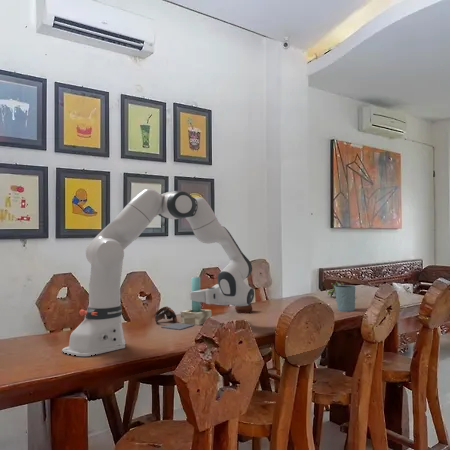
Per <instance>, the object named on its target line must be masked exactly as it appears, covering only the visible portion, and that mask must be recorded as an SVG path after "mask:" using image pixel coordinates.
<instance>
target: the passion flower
mask: <svg viewBox="0 0 450 450" xmlns="http://www.w3.org/2000/svg"><path fill="white" fill-rule="evenodd" d="M338 285H346V284H345V283H344V282H338V281H335V283H331V286H332V289H329V288H326V289H325V292H326V293H327V295H328V296H329V295H330V297H333V296H334V297H335V298H336V292H335V286H338ZM327 291H328V292H327ZM332 295H333V296H332ZM334 297H333V298H334Z"/></svg>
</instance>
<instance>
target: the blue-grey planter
mask: <svg viewBox="0 0 450 450" xmlns="http://www.w3.org/2000/svg"><path fill="white" fill-rule="evenodd" d="M335 293H336V296H335V301H336V308H337V309H338V310H337V311H339V310H340V312H354V311H356V285H352V284H349V285H348V284H345V285H338V286H335Z"/></svg>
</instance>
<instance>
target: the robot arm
mask: <svg viewBox="0 0 450 450" xmlns="http://www.w3.org/2000/svg"><path fill="white" fill-rule="evenodd" d="M157 216H159V217H161V218H164V219H168V220H169V219H170V220H178V219H186V221H187V222H188V223H189V226H190V229H191V230H192V232H193V235H194V237H195V238H196V239H197V240H198V241H199V242H200V243H203V244H214V243H217V244H219V245H220V246H221V248H222V249H223V251H224V252H225V254H226V255H227V256H228V258H229V262H228V264H227V265H226V266H225V267H223V269H222V270H221V271H220V272H219V273H218V274H217V279H216V280H217V283H216V284H214V285H213V286H211V287H209V288H204V289H200V290H197V291H192V290H190V292H189V299H190V301H191V302H192V301H197V302H201V303H205V304H206V305H219V306H228V305H230V306H232V307H235V306H248V305H249V304H250V303H251V304H252V303H253V301H254V298H255V290H254V288H253V287H251V286H249V285H248V284H247V283H246V282H245V280H246V279H247V278H248V277H249V276H250V275H251V274H252V272H253V266H252V263H251V261H250V259H249V258H248V257H247V256H246V255H245V254H244V253H243V252H242V250H241V248H240V247H239V245H238V243H237V242H236V240H235V239H234V237H233V235H232V233H230V231H229V230H228V229H227V228H226V227H225V226H222V224H221V223H220V222H219V219H218V218H217V215H216V214H215V212H214V211H213V209H212V207H211V206H210V204H209V203H208V201H207V200H206V199H205V198H203V197H200V196H196V197H194V196H192V194H190V193H188V192H186V191H184V190H171V191H170V190H169V191H167V192H163V193H159V192H158V191H156V190H155V189H152V188H145V189H143V190H141V191H140V192H138V193H137V195H135V196H134V197H133V198H132V199H130V201H129V202H128V203H127V204H126V205H125V206H124V208H122V210H121V211H120V212H119V213H118V214H117V215H116V216H115V217H114V218H113V219H112V221H111V222H109V223H108V224H107V225H106V226H105V227H104V228H103V229H102V230H101V231H100V232H98V234H97V235H96V236H95V237H94V238H93V239H92V240H91V241H90V242H89V243H88V244H87V246H86V249H85V257H86V259H87V261H88V263H89V264H91V266H90V275H89V276H90V277H89V283H88V307H87V310H86V309H80V310H79V312H78V313H79V315H80V316H84V320H83V321H81V323H80V324H79V325H78V326H77V327H76V328H75V329H73V331H71V334H70V335H69V342H68V346H65V347H64V348H62V349H61V352H62V351H63V352H64V353H63V352H62V353H63V354H65V353H67V354H66V355H69V354H71V355H70V356H74V355H76V356H75V357H91V355H92V356H94V355H95V354H96V355H101V354H104V353H105V354H106V353H108V352H113V351H117V350H121V349H125V348H126V340H125V336H124V331H123V323H122V314H123V308H122V305H121V282H122V281H121V279H122V278H121V277H122V272H123V265H124V264H123V262H124V261H123V260H124V257H125V251H124V250H125V249H127V248H128V247H129V246H130V245H131V244H132V243H133V242H134V241H136V240H137V239H138V238H139V237H140V235H141V234H142V233H143V232H144V231H145V230H146V229H147V227H148V226H149V225H150V223H152V222H153V220H154V219H155V217H157ZM96 355H95V356H96Z"/></svg>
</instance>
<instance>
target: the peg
mask: <svg viewBox="0 0 450 450" xmlns="http://www.w3.org/2000/svg"><path fill="white" fill-rule="evenodd" d="M190 279H191V283H190V284H191V291H197V290H201V276H192V277H191V278H190ZM201 303H202V302H197V301H192V300H191V309H192V312H201V309H202V306H201V305H202V304H201Z"/></svg>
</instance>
